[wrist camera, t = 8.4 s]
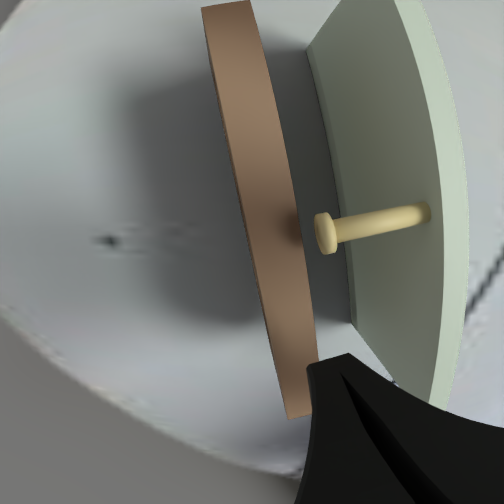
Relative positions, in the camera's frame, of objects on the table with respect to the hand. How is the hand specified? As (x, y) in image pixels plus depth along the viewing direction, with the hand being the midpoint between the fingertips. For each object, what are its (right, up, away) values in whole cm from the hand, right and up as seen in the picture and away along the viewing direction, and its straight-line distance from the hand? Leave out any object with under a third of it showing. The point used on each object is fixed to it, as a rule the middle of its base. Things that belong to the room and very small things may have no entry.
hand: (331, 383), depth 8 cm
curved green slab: (+3, +8, +9) cm, 12 cm away
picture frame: (-2, +6, +7) cm, 9 cm away
